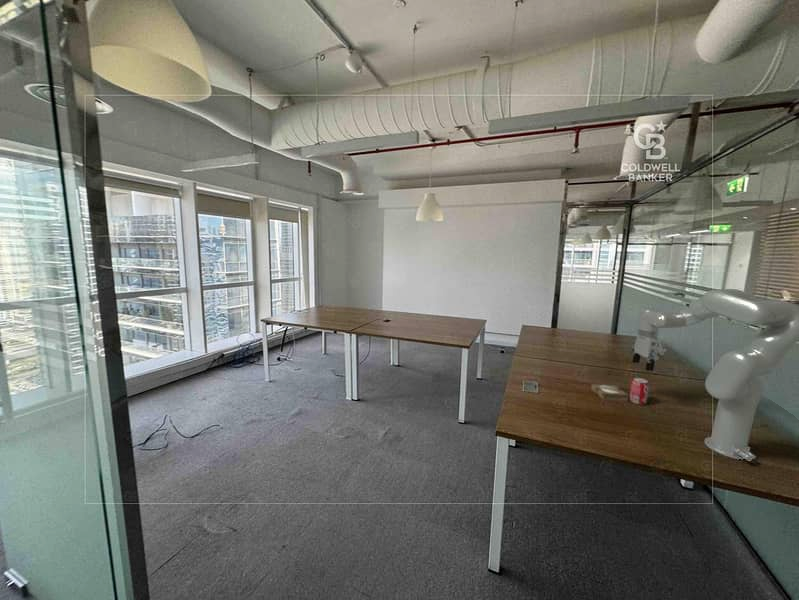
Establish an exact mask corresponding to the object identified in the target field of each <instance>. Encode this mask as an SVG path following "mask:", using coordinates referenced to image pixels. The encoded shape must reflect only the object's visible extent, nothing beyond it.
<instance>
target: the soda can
mask: <svg viewBox="0 0 799 600" xmlns="http://www.w3.org/2000/svg"><path fill="white" fill-rule="evenodd" d="M629 388H630V389H629V396H628V400H629V401H631V402H632V403H633V404H635V405H640V406H643V405H646V404H647V401H648V398H649V396H648V394H649V390H650V389H649V388H650V384H649V381H648V380H647V379H645V378H640V377H634V378H633V380H632V381H631V384H630V387H629Z"/></svg>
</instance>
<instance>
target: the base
mask: <svg viewBox="0 0 799 600" xmlns="http://www.w3.org/2000/svg"><path fill="white" fill-rule="evenodd" d="M590 386H591V387H590V390H591V391H593V393H595V394H596V393H597V394H598V395H599V396H598V395H597V394H596V395H597V396H598V397H599V398H600V399H602V400H605V401H623V402H628V400H629V396H630V394H627V393H626V392H625V391H623V390H622V389H620V388H619V387H618V386H616V385H615V384H601V383H600V384H599V383H598V384H597V383H592V384H591V385H590Z"/></svg>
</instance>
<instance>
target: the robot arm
mask: <svg viewBox="0 0 799 600" xmlns="http://www.w3.org/2000/svg"><path fill="white" fill-rule="evenodd" d="M719 316H721V317H724V318H727V319H729V320H732V321H735V322H737V323H741V324H744V325H747V326H766V327H765V328H764V329H762V330H761V331H760V332H759V333H758V334H757V335H756V336H755V337H754V339H753V340H752V342H750V344H749V345H748V346H746V348H743V349H736V350H735V349H734V350H731V351H727V352H725V353H724V354H723V355H721V357H720V358H719V359H718V360H717V362H716V363H715V365H714V366H713V367H712V369H711V370H710V372H709V373H708V375H707V376H706V379H705V382H704V385H705V390H706V391H707V393H708V394H709V395H710V396H711V397H713V398H715V399H718V403H717V406H716V411H715V416H714V421H713V427H712V430H711V436H709V437H706V438H704V444H705V445H706V446H707V447H708V448H709V449H711V450H712V451H714V452H716V453H718V454H720V455H723V456H725V457H727V458H731V459H734V460H739V459H741V460H740V461H744V460H743V459H746V460H745V461H747V462H751V461H752V460H755V459H756V457H757V456H756V454H755V455H754V454H753V453H752V452H751V451H750V450H751V447H750V446H748V445H749V442H750V436H751V431H752V428H753V423H754V419H755V414H756V410H757V408H758V404H759V403H760V400H761V399H762V397H763V395H764V389H765V388H764V386H765V385H764V384H763V382H762V380H761V379H760V378H759V377H764V376H769V375H771V374H772V373H774V372H775V371H776V370H777V368H778V367H779V365H781V364H782V362H783V360H784V359H785V358H786V357H787V355H788V354H789V353H790V351H791V350H792V349H793V348H794V346H795V345H796V343H798V341H799V307H798V306H797V305H795V304H793V303H790V302H788V301H784V300H778V299H777V300H776V299H771V300H770V299H769V300H752V299H750V296H749V295H748V293H746V292H745V291H743V290H741V289H735V288H725V289H724V288H722V289H721V288H719V289H712V290H708V291H707V292H705V293H704V294H703V295H702V296H701V298H698V299H695V300H692V301H691V302H690V304H689V307H687V308H683V309H681V310H675V311H674V310H673V311H661V310H660V309H658V308H649V307H647V308H646V307H645V308H642V309H641V311H640V317H639V322H638V323H639V324H638V329H637V335H636V338H635V342H634V344H632V345H631V347H632V355H633V356H632V363H634V364H640V361H641V356H642V357H644V358H646V364H645V371H648V372H649V371H650V372H653V371H654V368H655V364H656V363H657V362H658V360H659V359H660V356H659V355H658V351H659V340H658V339H659V338H658V336H659V335H658V334H659V329H673V328H676V329H677V328H683V327H688V326H692V325H695V324H699V323H701V322H703V321H706V320H708V319H711V318H716V317H719Z"/></svg>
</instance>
